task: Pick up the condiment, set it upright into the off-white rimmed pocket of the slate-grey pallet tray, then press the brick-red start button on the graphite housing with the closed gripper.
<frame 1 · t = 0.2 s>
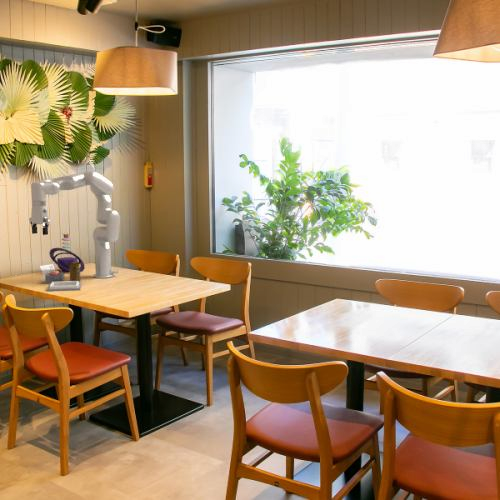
hand: (40, 234, 352), 31 cm above the table, tool pointing down, fingers open, 9 cm apart
decorative bottle: (67, 271, 409), on the table
pallet tray: (64, 287, 355), on the table
button housing: (55, 282, 372), on the table
start button: (54, 273, 371), point 5 cm above the table, slide at 0.0 cm
condiment: (75, 282, 372), on the table
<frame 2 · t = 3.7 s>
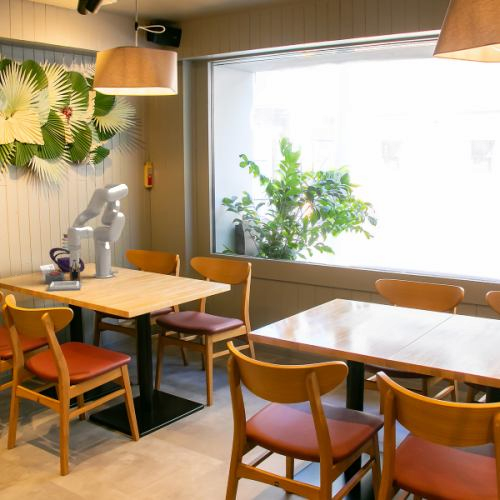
hand: (75, 277, 372), 3 cm above the table, tool pointing down, fingers closed on condiment, 6 cm apart
condiment: (75, 282, 372), on the table, touching gripper
everything else where it was.
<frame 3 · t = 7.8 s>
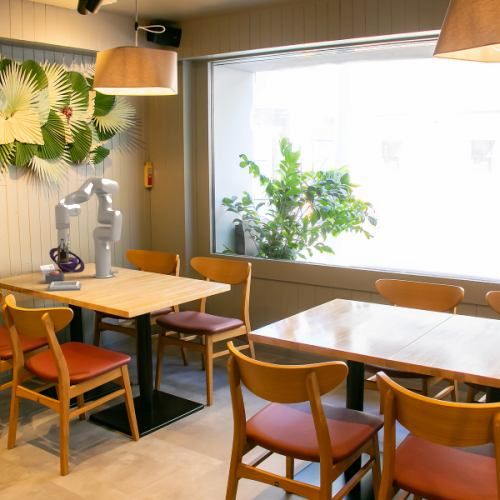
hand: (63, 257, 352), 18 cm above the table, tool pointing down, fingers closed on condiment, 6 cm apart
condiment: (63, 263, 352), point 14 cm above the table, touching gripper
everything else where it was.
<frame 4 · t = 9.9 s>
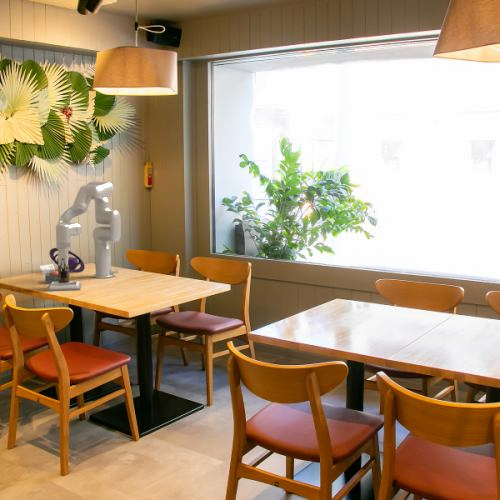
hand: (64, 276, 354), 7 cm above the table, tool pointing down, fingers closed on condiment, 6 cm apart
condiment: (64, 282, 354), point 3 cm above the table, touching gripper
everything else where it was.
when the fingers open (5 cm above the table, at t = 11.9 s): condiment stays where it is, resting on pallet tray.
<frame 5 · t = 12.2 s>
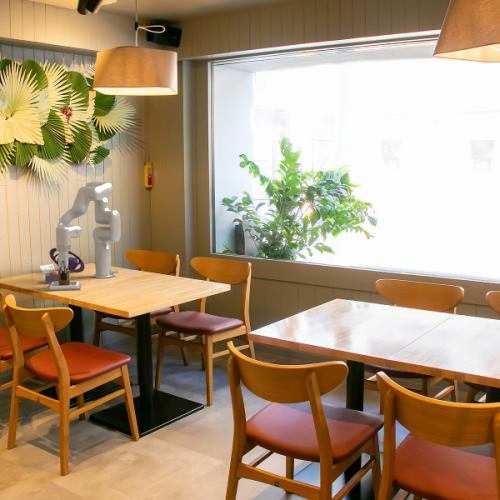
hand: (64, 278, 354), 6 cm above the table, tool pointing down, fingers open, 8 cm apart
condiment: (64, 286, 354), point 1 cm above the table, touching pallet tray
everything else where it was.
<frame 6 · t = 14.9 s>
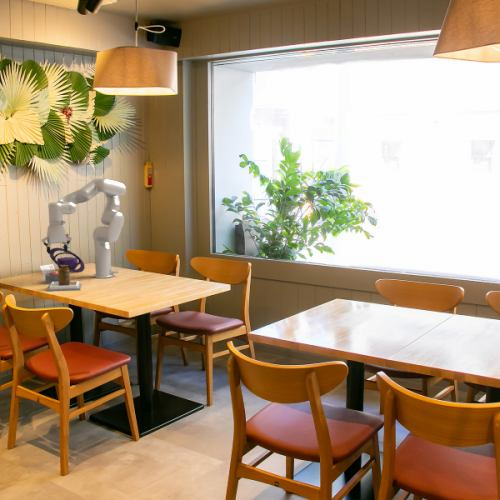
hand: (57, 252, 363), 19 cm above the table, tool pointing down, fingers open, 9 cm apart
nothing on the table moved.
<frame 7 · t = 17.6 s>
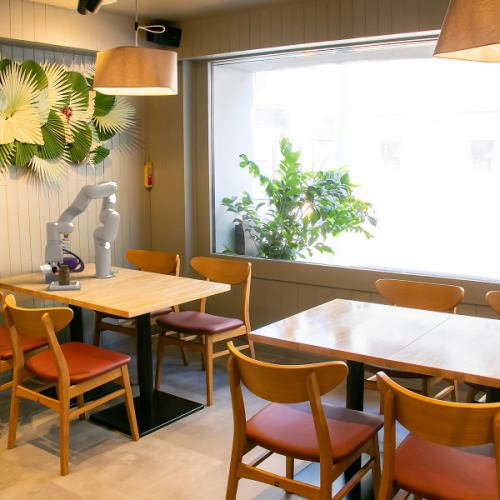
hand: (54, 273, 371), 6 cm above the table, tool pointing down, fingers closed
start button: (54, 275, 371), point 4 cm above the table, slide at 1.0 cm, touching gripper
everything else where it was.
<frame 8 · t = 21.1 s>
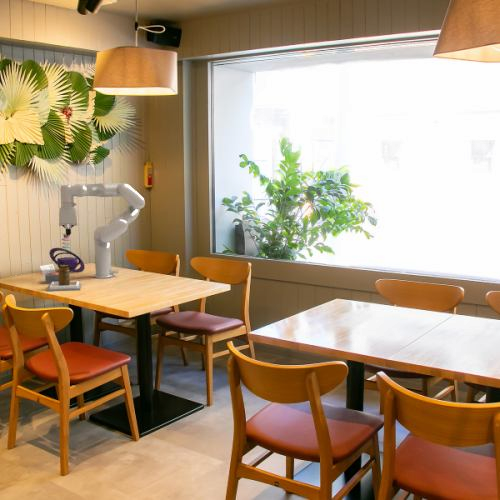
hand: (68, 235, 378), 27 cm above the table, tool pointing down, fingers closed
start button: (54, 275, 371), point 4 cm above the table, slide at 1.1 cm
everything else where it was.
at the end: condiment 0.7 cm off-centre on the pallet tray, point 0.8 cm above the pallet tray's base; condiment tilted 0°; start button slide at 1.1 cm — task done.
